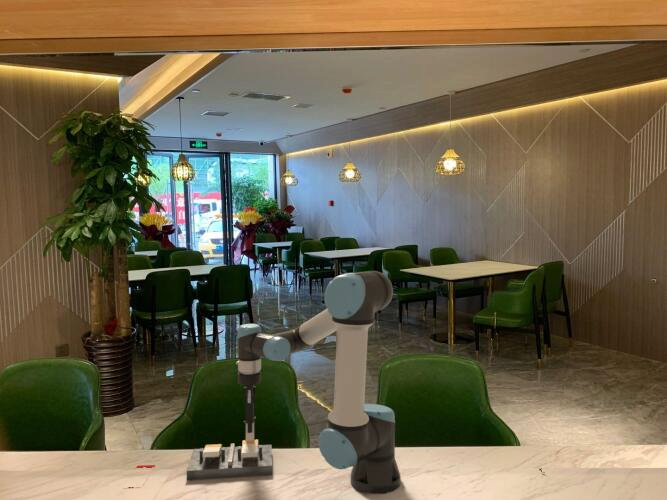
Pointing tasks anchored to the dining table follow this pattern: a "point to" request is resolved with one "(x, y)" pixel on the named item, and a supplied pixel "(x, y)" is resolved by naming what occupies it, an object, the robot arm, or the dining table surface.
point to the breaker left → (212, 450)
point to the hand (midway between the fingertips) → (250, 440)
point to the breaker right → (249, 448)
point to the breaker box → (230, 464)
